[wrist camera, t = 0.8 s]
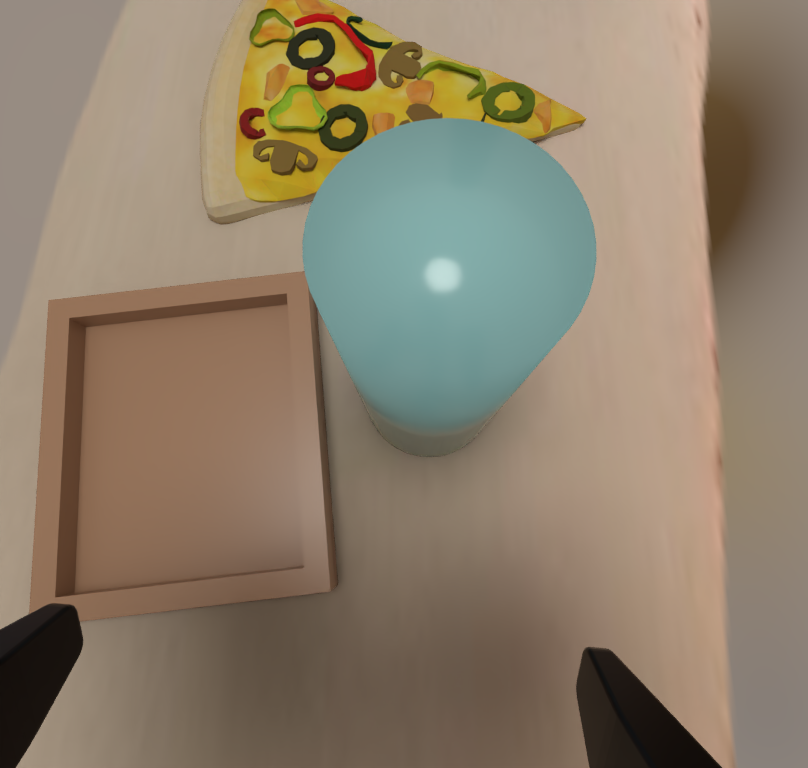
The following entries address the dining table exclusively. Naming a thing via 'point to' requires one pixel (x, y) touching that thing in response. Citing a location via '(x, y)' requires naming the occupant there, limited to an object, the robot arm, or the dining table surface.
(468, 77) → the pizza slice
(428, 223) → the teal rounded cylinder
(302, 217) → the dining table surface
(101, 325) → the tray
